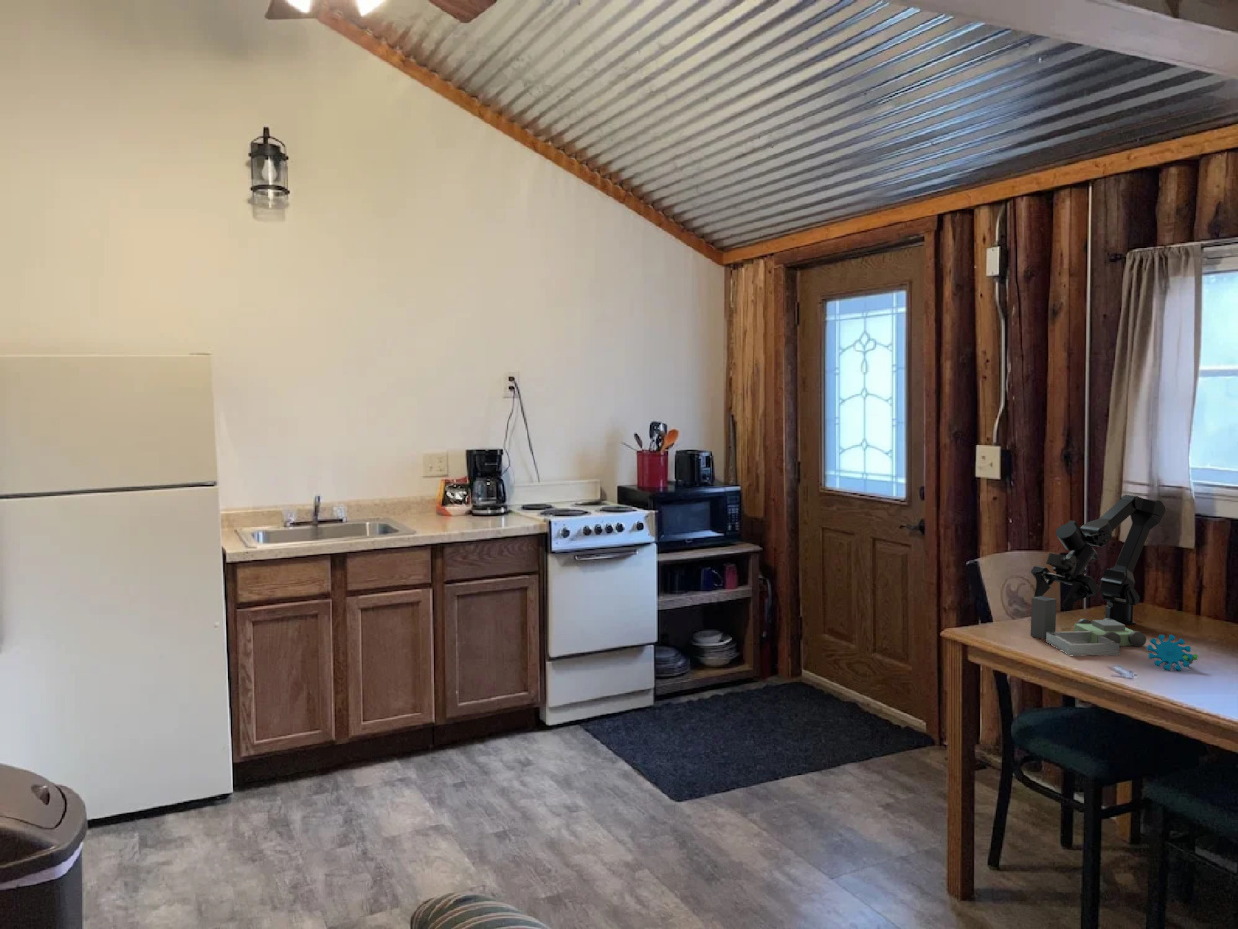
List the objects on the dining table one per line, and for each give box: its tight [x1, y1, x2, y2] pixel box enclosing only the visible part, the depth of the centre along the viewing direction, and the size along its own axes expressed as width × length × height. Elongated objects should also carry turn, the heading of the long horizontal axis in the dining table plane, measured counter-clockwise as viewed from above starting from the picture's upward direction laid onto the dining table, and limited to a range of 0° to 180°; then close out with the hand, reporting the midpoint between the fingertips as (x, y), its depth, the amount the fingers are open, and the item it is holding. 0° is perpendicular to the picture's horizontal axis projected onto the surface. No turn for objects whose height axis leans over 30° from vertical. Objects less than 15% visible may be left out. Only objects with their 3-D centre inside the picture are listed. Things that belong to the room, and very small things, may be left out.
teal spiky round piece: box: [1146, 634, 1199, 672], centre depth 237 cm, size 11×6×10 cm
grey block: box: [1030, 595, 1057, 640], centre depth 265 cm, size 4×4×11 cm
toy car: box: [1073, 617, 1147, 648], centre depth 262 cm, size 12×16×4 cm
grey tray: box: [1045, 630, 1121, 657], centre depth 253 cm, size 13×13×3 cm
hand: (1048, 603), depth 265 cm, fingers open, 9 cm apart
